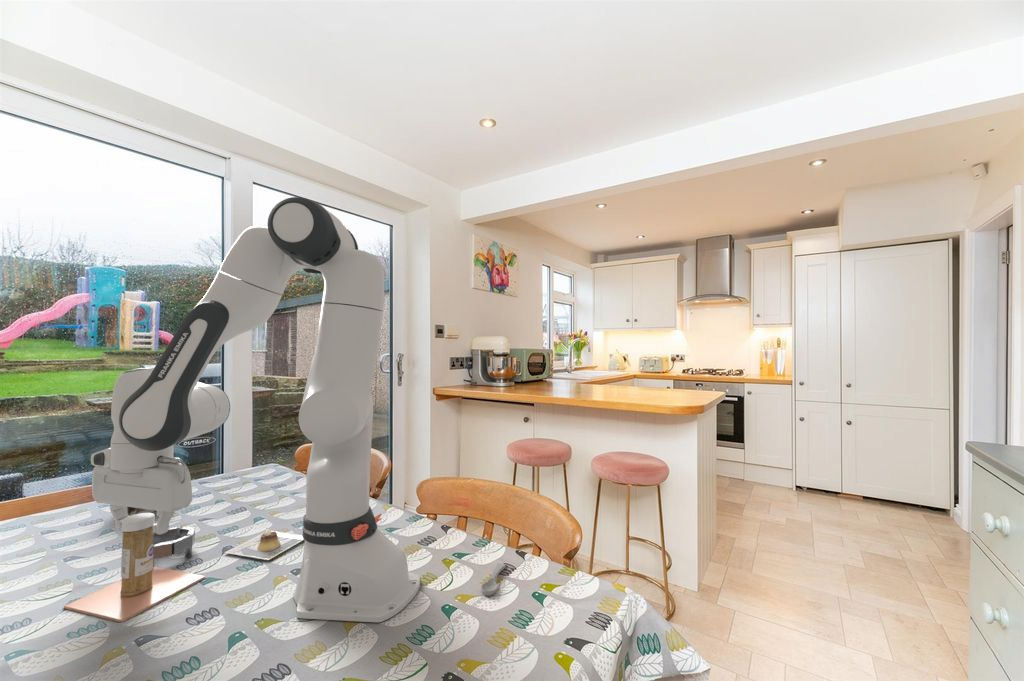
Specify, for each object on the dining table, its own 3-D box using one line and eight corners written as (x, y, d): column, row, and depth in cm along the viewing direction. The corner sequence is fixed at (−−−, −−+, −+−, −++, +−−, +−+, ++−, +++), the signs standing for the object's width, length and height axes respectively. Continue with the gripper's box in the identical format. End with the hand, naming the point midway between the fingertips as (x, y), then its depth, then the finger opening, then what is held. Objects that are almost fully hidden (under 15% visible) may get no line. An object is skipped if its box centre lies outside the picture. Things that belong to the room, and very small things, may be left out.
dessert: (269, 534, 103) (269, 514, 103) (310, 540, 100) (310, 520, 100) (223, 557, 92) (224, 535, 92) (268, 565, 88) (268, 542, 89)
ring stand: (204, 550, 94) (204, 529, 94) (158, 571, 84) (158, 549, 85) (172, 544, 96) (172, 524, 96) (123, 565, 87) (124, 543, 87)
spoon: (478, 598, 77) (478, 586, 77) (494, 569, 88) (495, 559, 88) (494, 600, 76) (494, 588, 76) (508, 571, 88) (508, 561, 88)
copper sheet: (205, 578, 82) (205, 576, 82) (122, 622, 69) (122, 620, 69) (152, 567, 86) (152, 565, 86) (63, 608, 72) (63, 605, 72)
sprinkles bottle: (150, 592, 77) (152, 517, 77) (116, 600, 74) (119, 523, 74) (154, 581, 80) (156, 509, 81) (122, 588, 78) (124, 514, 78)
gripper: (202, 454, 78) (201, 529, 78) (123, 447, 84) (121, 517, 83) (167, 462, 72) (165, 544, 72) (83, 455, 78) (82, 531, 77)
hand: (141, 530), depth 78 cm, fingers open, 8 cm apart
